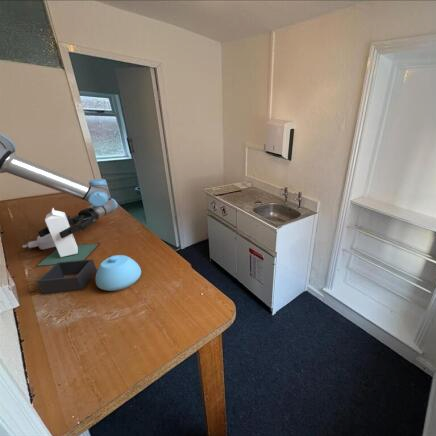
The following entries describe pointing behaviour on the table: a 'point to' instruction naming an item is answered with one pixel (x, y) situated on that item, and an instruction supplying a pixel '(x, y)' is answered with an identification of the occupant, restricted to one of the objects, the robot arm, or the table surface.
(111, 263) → the sugar bowl
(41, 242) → the glue bottle
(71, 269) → the box
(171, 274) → the table surface
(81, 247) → the mat
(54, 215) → the milk
